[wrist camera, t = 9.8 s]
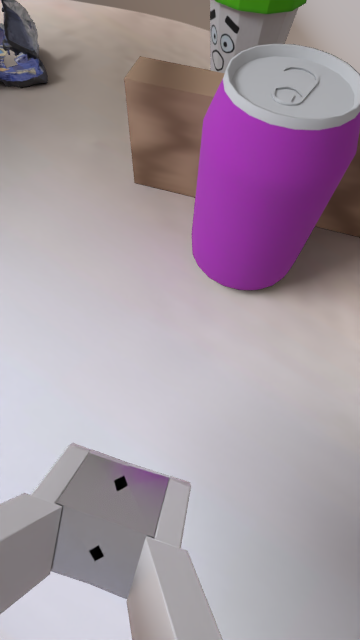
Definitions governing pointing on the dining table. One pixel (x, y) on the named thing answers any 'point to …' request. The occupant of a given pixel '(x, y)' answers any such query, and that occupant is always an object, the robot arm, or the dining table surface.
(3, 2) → the snack package
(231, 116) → the beverage can
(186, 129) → the board
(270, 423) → the dining table surface
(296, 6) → the cup
